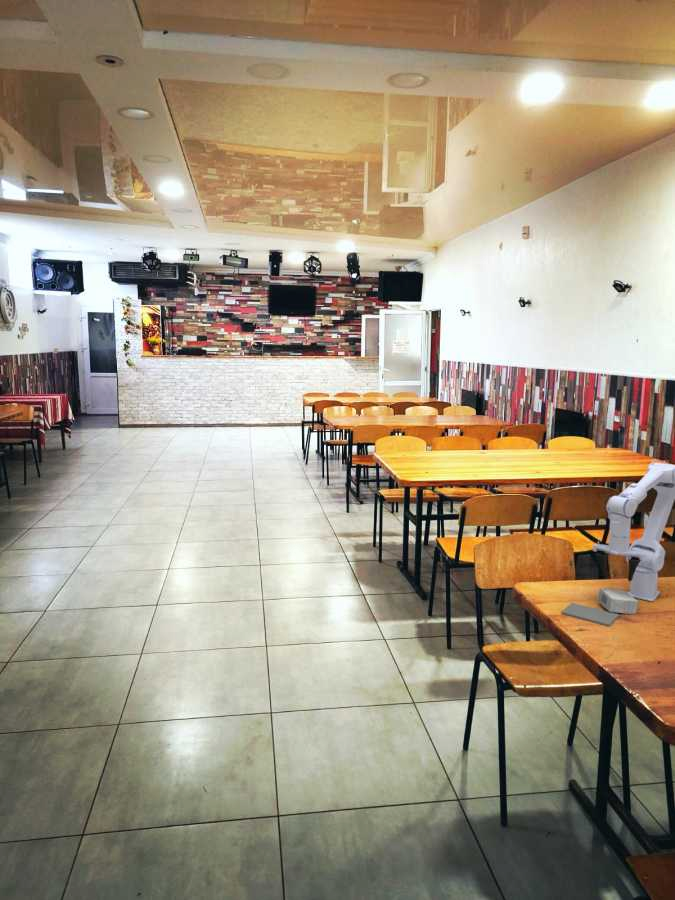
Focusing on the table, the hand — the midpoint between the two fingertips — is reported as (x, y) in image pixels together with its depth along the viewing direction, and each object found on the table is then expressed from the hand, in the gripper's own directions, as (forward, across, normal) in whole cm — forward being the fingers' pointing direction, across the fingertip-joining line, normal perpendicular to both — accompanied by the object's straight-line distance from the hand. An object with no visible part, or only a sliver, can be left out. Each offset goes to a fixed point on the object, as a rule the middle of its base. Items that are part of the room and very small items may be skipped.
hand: (617, 577), depth 185 cm
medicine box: (+6, -2, -5) cm, 8 cm away
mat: (+9, -4, -12) cm, 16 cm away
